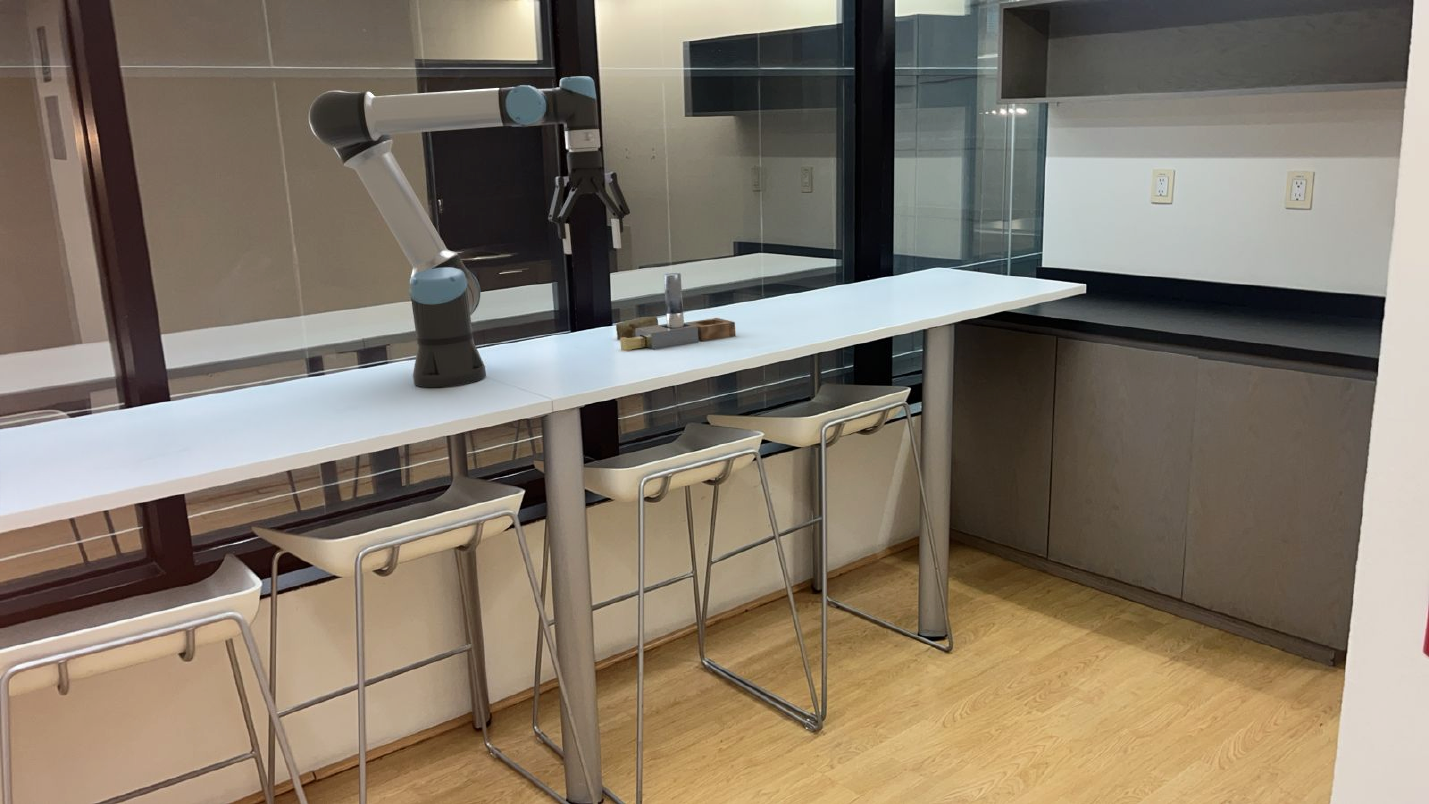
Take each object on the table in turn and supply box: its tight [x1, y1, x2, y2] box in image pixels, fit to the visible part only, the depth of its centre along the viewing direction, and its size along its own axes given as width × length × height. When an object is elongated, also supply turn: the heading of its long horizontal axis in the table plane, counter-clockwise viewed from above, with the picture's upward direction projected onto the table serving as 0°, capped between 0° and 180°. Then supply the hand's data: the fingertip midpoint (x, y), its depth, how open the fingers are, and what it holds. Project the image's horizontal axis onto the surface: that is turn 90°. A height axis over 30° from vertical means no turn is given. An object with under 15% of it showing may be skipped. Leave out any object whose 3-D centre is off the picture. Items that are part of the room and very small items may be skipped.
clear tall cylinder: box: [663, 272, 685, 329], centre depth 249 cm, size 4×4×16 cm
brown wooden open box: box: [685, 317, 736, 342], centre depth 254 cm, size 9×9×4 cm
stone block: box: [615, 316, 659, 341], centre depth 262 cm, size 6×12×5 cm, turn 149°
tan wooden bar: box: [619, 336, 647, 352], centre depth 246 cm, size 9×3×3 cm, turn 118°
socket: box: [635, 322, 700, 351], centre depth 249 cm, size 12×9×4 cm
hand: (592, 250), depth 237 cm, fingers open, 11 cm apart
